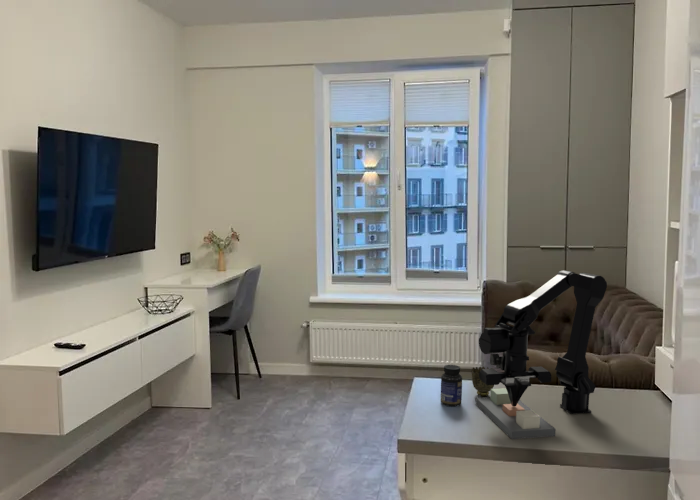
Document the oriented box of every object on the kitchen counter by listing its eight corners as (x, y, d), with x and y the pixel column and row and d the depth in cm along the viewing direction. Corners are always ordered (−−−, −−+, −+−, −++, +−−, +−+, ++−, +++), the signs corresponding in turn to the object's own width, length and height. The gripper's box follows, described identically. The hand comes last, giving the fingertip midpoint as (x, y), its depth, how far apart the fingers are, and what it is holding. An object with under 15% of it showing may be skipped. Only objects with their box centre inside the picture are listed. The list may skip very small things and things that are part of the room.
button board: (514, 402, 180) (514, 395, 180) (555, 436, 157) (555, 428, 157) (476, 404, 178) (476, 397, 178) (511, 439, 155) (511, 431, 155)
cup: (497, 399, 182) (498, 374, 181) (473, 399, 182) (474, 373, 181) (492, 391, 190) (493, 366, 189) (468, 390, 190) (469, 365, 189)
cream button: (531, 422, 162) (532, 409, 161) (539, 429, 157) (540, 416, 157) (515, 423, 161) (516, 410, 160) (523, 430, 157) (524, 417, 156)
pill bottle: (461, 408, 175) (462, 370, 174) (439, 406, 177) (440, 369, 175) (461, 400, 181) (462, 364, 180) (440, 398, 183) (442, 363, 181)
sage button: (504, 399, 178) (504, 388, 178) (510, 404, 174) (511, 393, 174) (490, 400, 177) (490, 388, 177) (496, 405, 173) (496, 394, 173)
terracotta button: (517, 415, 170) (517, 403, 170) (524, 421, 166) (524, 409, 165) (502, 416, 169) (502, 404, 169) (509, 422, 165) (509, 410, 165)
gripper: (534, 341, 175) (531, 393, 177) (472, 343, 172) (470, 397, 173) (553, 352, 164) (550, 408, 166) (488, 355, 161) (485, 411, 162)
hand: (513, 405), depth 167 cm, fingers closed
